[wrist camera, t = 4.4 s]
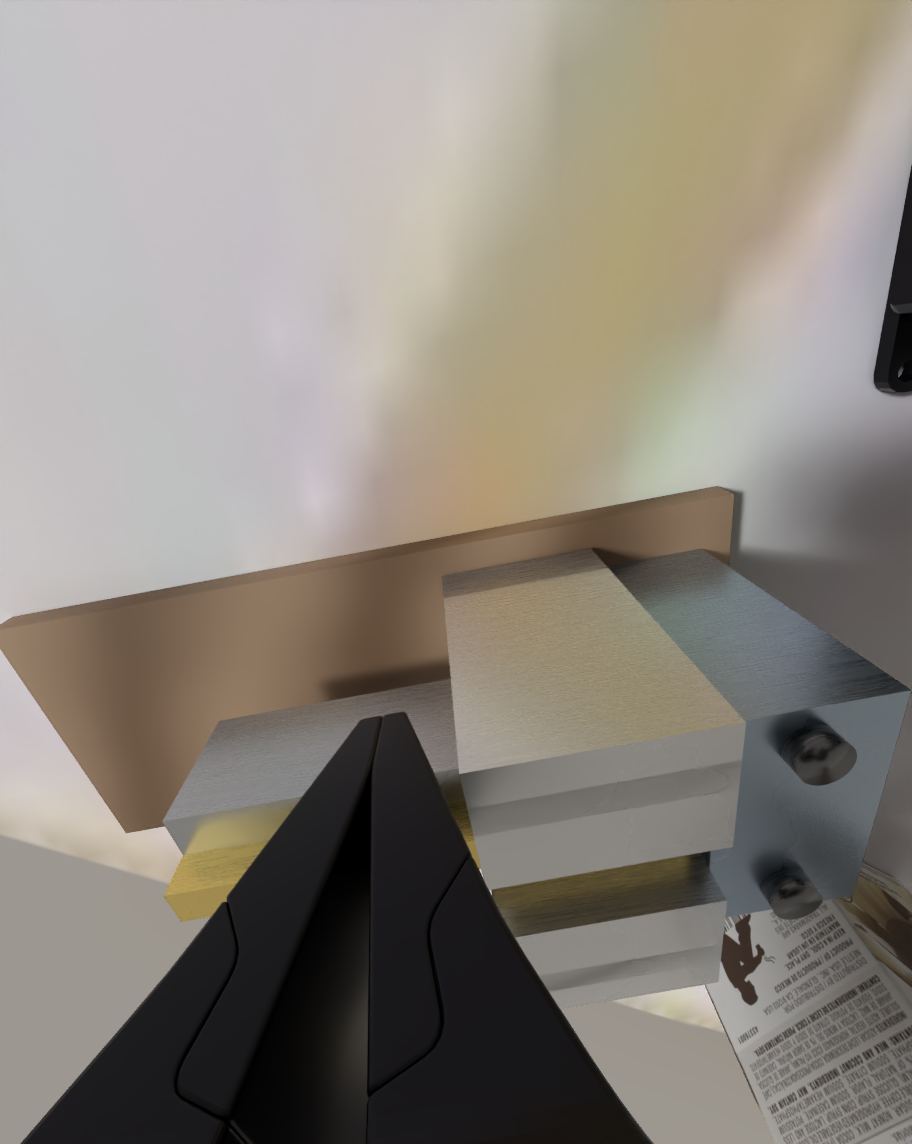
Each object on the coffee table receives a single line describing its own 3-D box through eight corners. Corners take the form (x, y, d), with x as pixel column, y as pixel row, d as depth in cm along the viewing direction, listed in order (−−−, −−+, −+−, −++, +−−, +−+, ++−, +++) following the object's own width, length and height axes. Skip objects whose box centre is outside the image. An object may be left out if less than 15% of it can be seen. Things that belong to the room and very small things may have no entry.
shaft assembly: (291, 770, 15) (207, 1031, 9) (232, 635, 13) (75, 861, 7) (694, 698, 15) (870, 916, 9) (701, 548, 13) (936, 707, 7)
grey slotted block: (478, 758, 15) (515, 1017, 9) (441, 575, 13) (458, 774, 7) (601, 736, 15) (718, 981, 9) (590, 548, 13) (745, 722, 7)
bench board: (717, 486, 13) (734, 493, 12) (703, 710, 16) (716, 727, 16) (12, 617, 13) (-12, 631, 13) (139, 812, 17) (126, 833, 16)
